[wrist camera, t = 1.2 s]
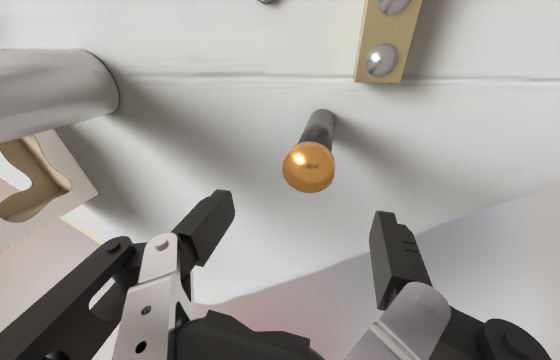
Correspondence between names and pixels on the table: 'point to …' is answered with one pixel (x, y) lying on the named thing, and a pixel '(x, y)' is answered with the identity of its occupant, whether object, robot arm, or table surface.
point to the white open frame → (41, 186)
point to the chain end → (385, 40)
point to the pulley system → (265, 1)
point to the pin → (312, 155)
